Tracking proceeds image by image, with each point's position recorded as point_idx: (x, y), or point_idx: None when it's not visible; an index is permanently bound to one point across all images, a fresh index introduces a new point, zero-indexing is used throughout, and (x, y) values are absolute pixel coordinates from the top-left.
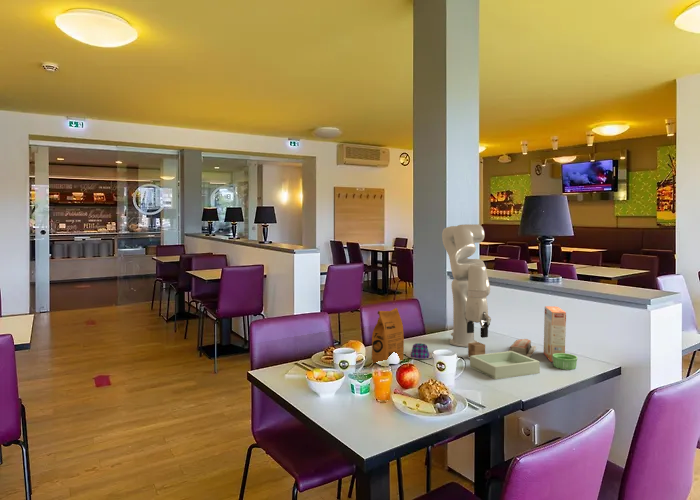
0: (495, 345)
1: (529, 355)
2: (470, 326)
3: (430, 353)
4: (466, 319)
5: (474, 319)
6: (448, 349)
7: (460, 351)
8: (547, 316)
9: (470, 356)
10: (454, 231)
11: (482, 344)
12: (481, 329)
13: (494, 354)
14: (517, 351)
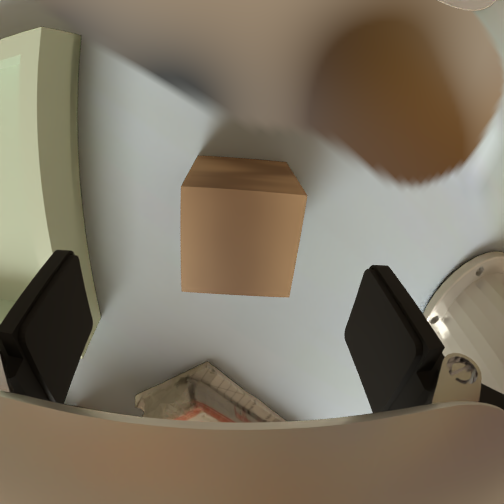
0: (360, 400)
1: (141, 408)
2: (386, 355)
3: (450, 1)
4: (496, 403)
5: (42, 467)
6: (470, 173)
7: (407, 205)
8: None
9: (39, 28)
10: None
11: (200, 279)
12: (10, 317)
13: (34, 230)
14: (163, 400)
